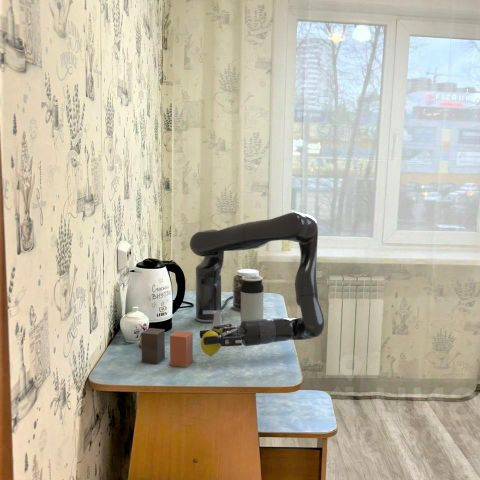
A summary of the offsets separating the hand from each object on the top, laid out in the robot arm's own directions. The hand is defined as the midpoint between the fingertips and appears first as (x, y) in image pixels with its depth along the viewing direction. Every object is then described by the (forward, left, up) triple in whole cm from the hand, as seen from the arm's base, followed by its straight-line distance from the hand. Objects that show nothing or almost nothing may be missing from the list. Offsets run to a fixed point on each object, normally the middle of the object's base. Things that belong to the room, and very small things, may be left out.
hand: (202, 337), depth 171 cm
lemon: (-1, +2, -6) cm, 7 cm away
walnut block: (-1, -16, -9) cm, 18 cm away
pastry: (-12, -22, -9) cm, 27 cm away
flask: (-23, -4, -9) cm, 25 cm away
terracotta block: (-1, -7, -9) cm, 11 cm away
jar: (-64, -7, -9) cm, 65 cm away
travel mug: (-41, +2, -9) cm, 42 cm away
